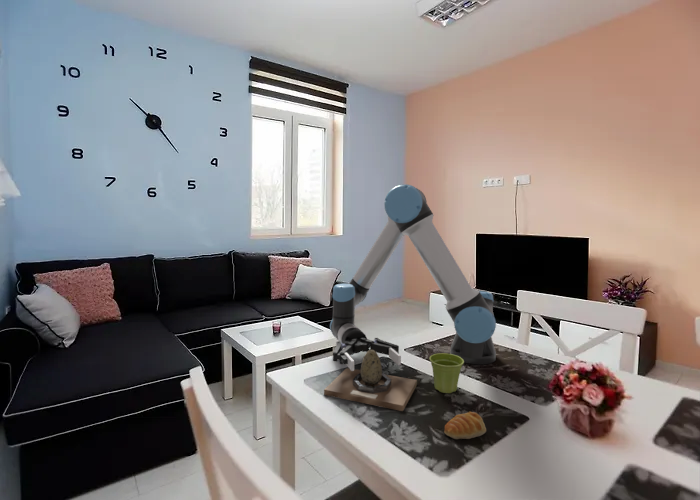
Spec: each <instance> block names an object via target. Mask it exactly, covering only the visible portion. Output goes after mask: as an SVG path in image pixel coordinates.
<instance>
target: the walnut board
mask: <svg viewBox="0 0 700 500" xmlns="http://www.w3.org/2000/svg"><path fill="white" fill-rule="evenodd" d="M359 373H361V369H355V368H354V371H351V370H350V369H349V367H346V368H345V369H344V370H343V371H341V372H340V374H338V375H337V377H335V378H334V379H333V380H332V381H331V383H329V384H328V385H327V386H326V387H325V388H324V390H323V395H324V396H327V397H333V398H337V399H342V400H347V401H352V402H355V403H357V402H358V403H362V404H367V405H371V406H376V407H381V408H385V409H389V410H390V409H391V410H395V411H399V412H403V411H404V410H405V408H406V407H407V404H408V403H409V401H410V399H411V398H412V395H413V393H414V392H415V390H416V388H417V385H418V380H417V379H412V378H408V377H407V378H406V377H403V376H402V377H400V376H396V375H390V374H385V375H386V376H387V377H389V378H390V379H391V386H390V387H389V389H388V390H387V391H385V392H380V393H375V394H372V393H367V392H362V391H358V390H357V389H356V388H355V387H354V385H353V379H354V378H355V376H356V375H357V374H359ZM359 382H360V383H361V384H362V385H368V384H366V383H365V382H364V381H363V380H360V381H359ZM384 384H385V382H384V381H382V380H380V381H379V382H378V383H377V384H375V385H368V386H379V385H384Z"/></svg>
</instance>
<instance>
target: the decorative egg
mask: <svg viewBox="0 0 700 500" xmlns="http://www.w3.org/2000/svg"><path fill="white" fill-rule="evenodd" d="M378 354H379V353H377V352H375V351H374V350H369V351H368V352H366V353H365V355H364V356H363V358H362V361H361V366H360V370H361V377H362V379H363V381H364V382H365V383H366V384H368V385H375V384H377V383H378V382H379V381H380V379H381V376H382V374H383V368H382V367H383V366H382V363H381V359H380V357H379V355H378Z"/></svg>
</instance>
